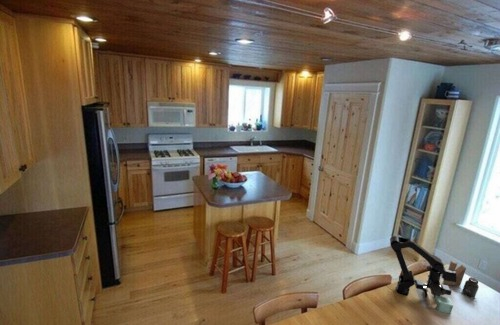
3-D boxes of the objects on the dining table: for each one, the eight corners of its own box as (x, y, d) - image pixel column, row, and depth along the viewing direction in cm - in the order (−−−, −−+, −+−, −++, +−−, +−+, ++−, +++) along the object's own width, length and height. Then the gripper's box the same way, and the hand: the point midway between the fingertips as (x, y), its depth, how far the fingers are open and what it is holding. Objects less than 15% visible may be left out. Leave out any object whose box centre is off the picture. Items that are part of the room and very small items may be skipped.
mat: (422, 307, 161) (422, 306, 161) (414, 284, 181) (414, 283, 180) (451, 314, 157) (451, 314, 157) (439, 291, 176) (439, 290, 176)
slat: (428, 306, 161) (430, 302, 160) (422, 291, 174) (424, 286, 173) (435, 308, 160) (437, 304, 159) (428, 293, 173) (430, 288, 172)
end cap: (436, 310, 159) (439, 301, 157) (433, 303, 165) (436, 295, 163) (450, 313, 157) (453, 305, 155) (446, 306, 162) (449, 298, 161)
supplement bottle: (463, 296, 173) (469, 281, 170) (460, 289, 179) (465, 274, 176) (476, 300, 170) (482, 284, 167) (472, 292, 177) (477, 277, 173)
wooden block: (460, 285, 183) (468, 263, 178) (446, 285, 182) (454, 263, 177) (456, 281, 187) (463, 260, 182) (442, 282, 185) (449, 260, 180)
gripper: (420, 282, 158) (416, 304, 162) (457, 289, 152) (452, 311, 157) (415, 271, 168) (411, 291, 172) (450, 277, 163) (445, 298, 167)
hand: (429, 298), depth 167 cm, fingers open, 4 cm apart
